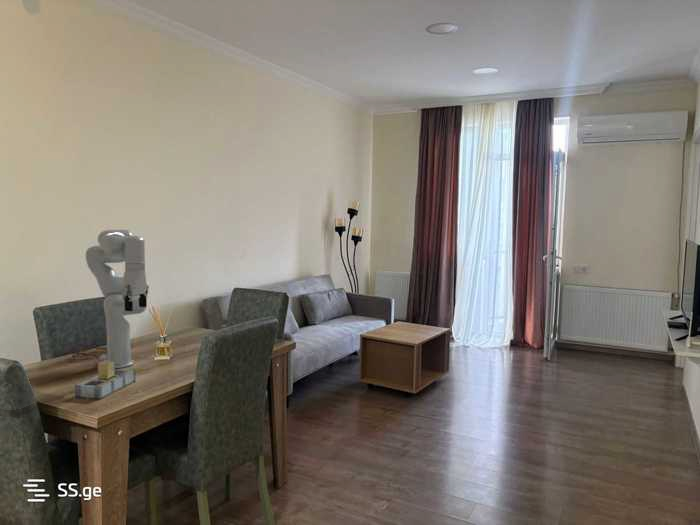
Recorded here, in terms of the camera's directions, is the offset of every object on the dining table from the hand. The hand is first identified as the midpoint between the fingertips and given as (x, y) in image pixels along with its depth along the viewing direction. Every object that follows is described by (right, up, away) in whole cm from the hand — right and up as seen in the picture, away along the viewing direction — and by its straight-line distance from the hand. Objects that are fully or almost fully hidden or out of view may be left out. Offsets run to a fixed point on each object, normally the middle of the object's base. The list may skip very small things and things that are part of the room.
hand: (136, 308), depth 215 cm
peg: (-6, -29, -14) cm, 33 cm away
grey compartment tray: (-5, -30, -14) cm, 33 cm away
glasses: (-35, -26, +35) cm, 56 cm away
